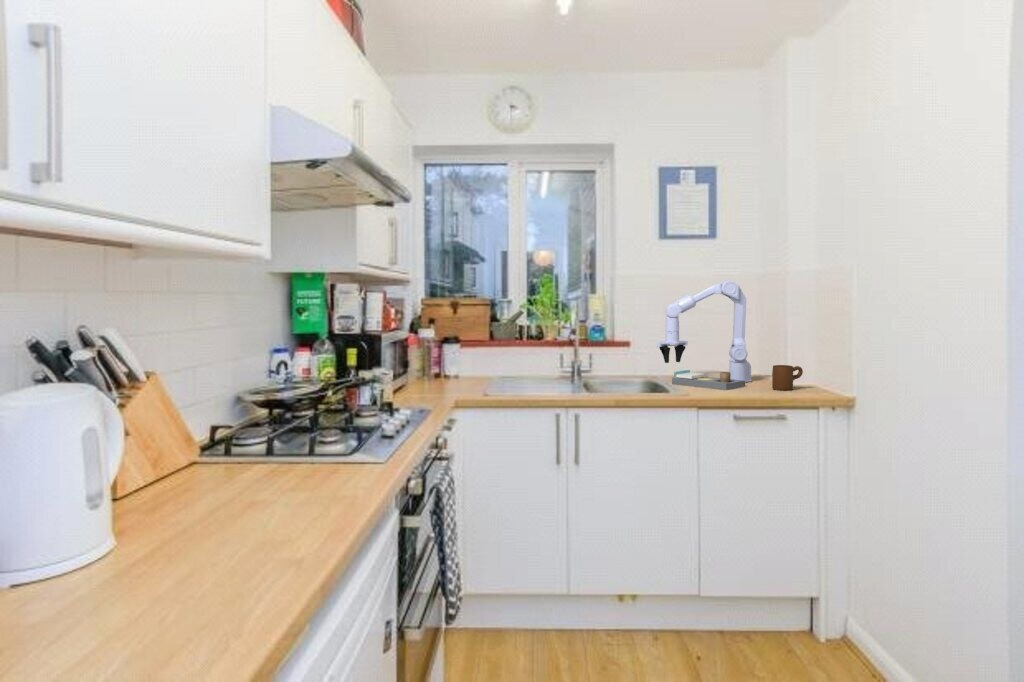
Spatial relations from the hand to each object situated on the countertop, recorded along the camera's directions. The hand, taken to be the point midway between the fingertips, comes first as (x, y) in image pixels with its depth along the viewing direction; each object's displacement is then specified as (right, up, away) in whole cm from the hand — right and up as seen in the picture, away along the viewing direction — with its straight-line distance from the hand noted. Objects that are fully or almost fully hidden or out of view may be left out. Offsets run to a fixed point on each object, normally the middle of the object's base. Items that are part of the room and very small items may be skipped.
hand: (672, 362), depth 282 cm
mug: (+38, -10, -29) cm, 49 cm away
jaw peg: (+17, -10, -20) cm, 28 cm away
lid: (+6, -6, -7) cm, 11 cm away
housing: (+12, -9, -13) cm, 20 cm away
